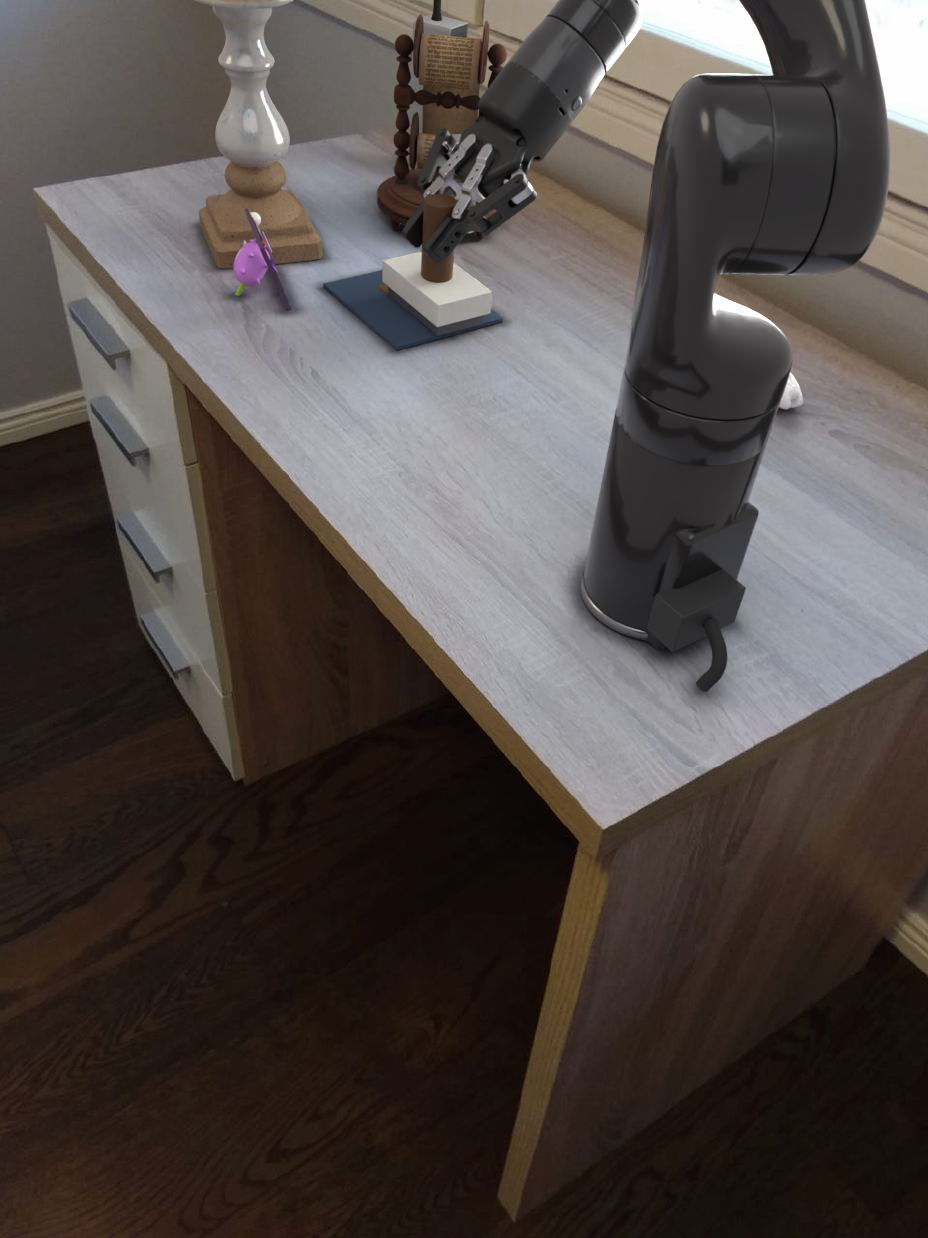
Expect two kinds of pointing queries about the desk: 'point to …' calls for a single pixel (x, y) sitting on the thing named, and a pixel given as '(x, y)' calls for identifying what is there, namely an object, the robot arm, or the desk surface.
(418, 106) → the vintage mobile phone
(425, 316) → the stamp
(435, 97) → the scroll
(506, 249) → the desk surface
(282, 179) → the candle holder
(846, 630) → the desk surface
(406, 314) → the mat
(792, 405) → the white rounded piece
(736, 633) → the desk surface
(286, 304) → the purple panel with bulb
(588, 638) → the desk surface
